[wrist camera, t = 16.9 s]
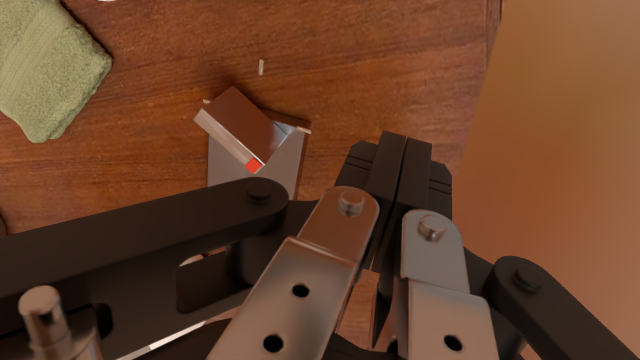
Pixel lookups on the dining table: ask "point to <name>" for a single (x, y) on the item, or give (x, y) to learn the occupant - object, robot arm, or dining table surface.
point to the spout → (241, 128)
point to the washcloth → (46, 66)
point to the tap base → (278, 168)
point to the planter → (2, 228)
